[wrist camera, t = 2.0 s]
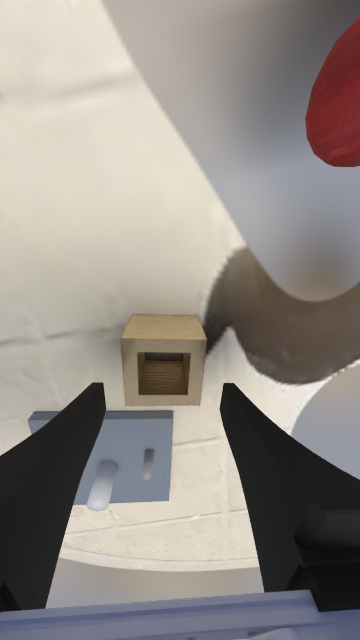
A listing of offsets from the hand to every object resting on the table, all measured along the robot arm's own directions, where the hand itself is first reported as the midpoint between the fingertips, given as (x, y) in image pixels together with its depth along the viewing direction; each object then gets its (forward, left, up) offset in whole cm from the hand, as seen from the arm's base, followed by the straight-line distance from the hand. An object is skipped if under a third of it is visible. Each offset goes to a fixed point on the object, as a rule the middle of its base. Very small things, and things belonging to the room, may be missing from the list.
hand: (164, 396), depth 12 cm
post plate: (-6, -15, -7) cm, 17 cm away
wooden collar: (0, 0, -7) cm, 7 cm away
